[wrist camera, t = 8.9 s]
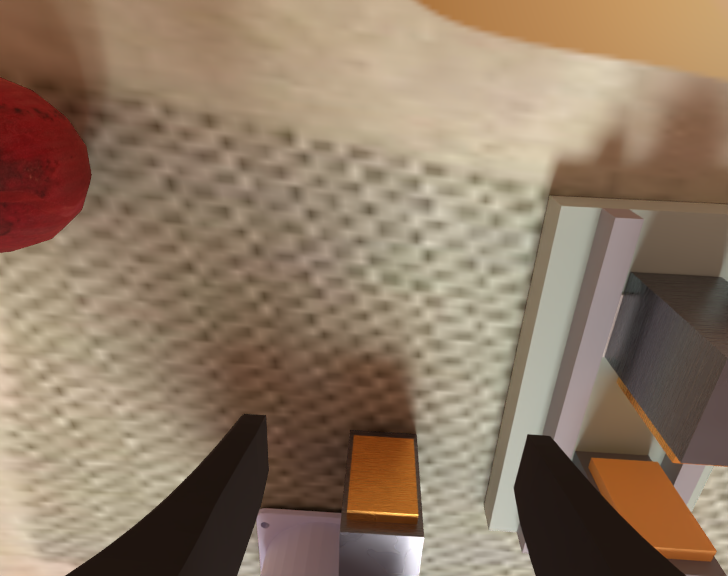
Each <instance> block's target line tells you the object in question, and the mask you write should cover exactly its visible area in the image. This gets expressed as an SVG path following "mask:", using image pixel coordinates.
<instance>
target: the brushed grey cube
mask: <svg viewBox="0 0 728 576" xmlns="http://www.w3.org/2000/svg"><path fill="white" fill-rule="evenodd" d="M605 358H606V359H607V361H608V362H609V364H610V365H611V366H612V368H613V369H614V371H615V372H616V373H617V375H618V379H617V382H616V383H617V384H618V385H619V387H620V388H621V390H622V391H623V393H624V394H625V395H626V397H627V398H628V400H629V401H630V403H631V404H632V405H633V407H634V408H635V410H636V411H637V413H638V414H639V416H640V417H641V418H642V420H643V421H644V423H645V424H646V426H647V427H648V428H649V430H650V431H651V433H652V434H653V436H654V437H655V439H656V440H657V441H658V443H659V444H660V446H661V447H662V449H663V450H664V451H665V453H666V454H667V456H668V457H669V459H670V460H671V462H672V463H679V464H695V465H710V466H725V467H728V281H726V280H725V279H723V278H722V277H713V276H695V275H677V274H659V273H642V272H631V274H630V277H629V280H628V283H627V286H626V290H625V293H624V296H623V299H622V302H621V306H620V309H619V312H618V315H617V318H616V321H615V325H614V328H613V331H612V334H611V337H610V341H609V344H608V347H607V350H606V353H605Z"/></svg>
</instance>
